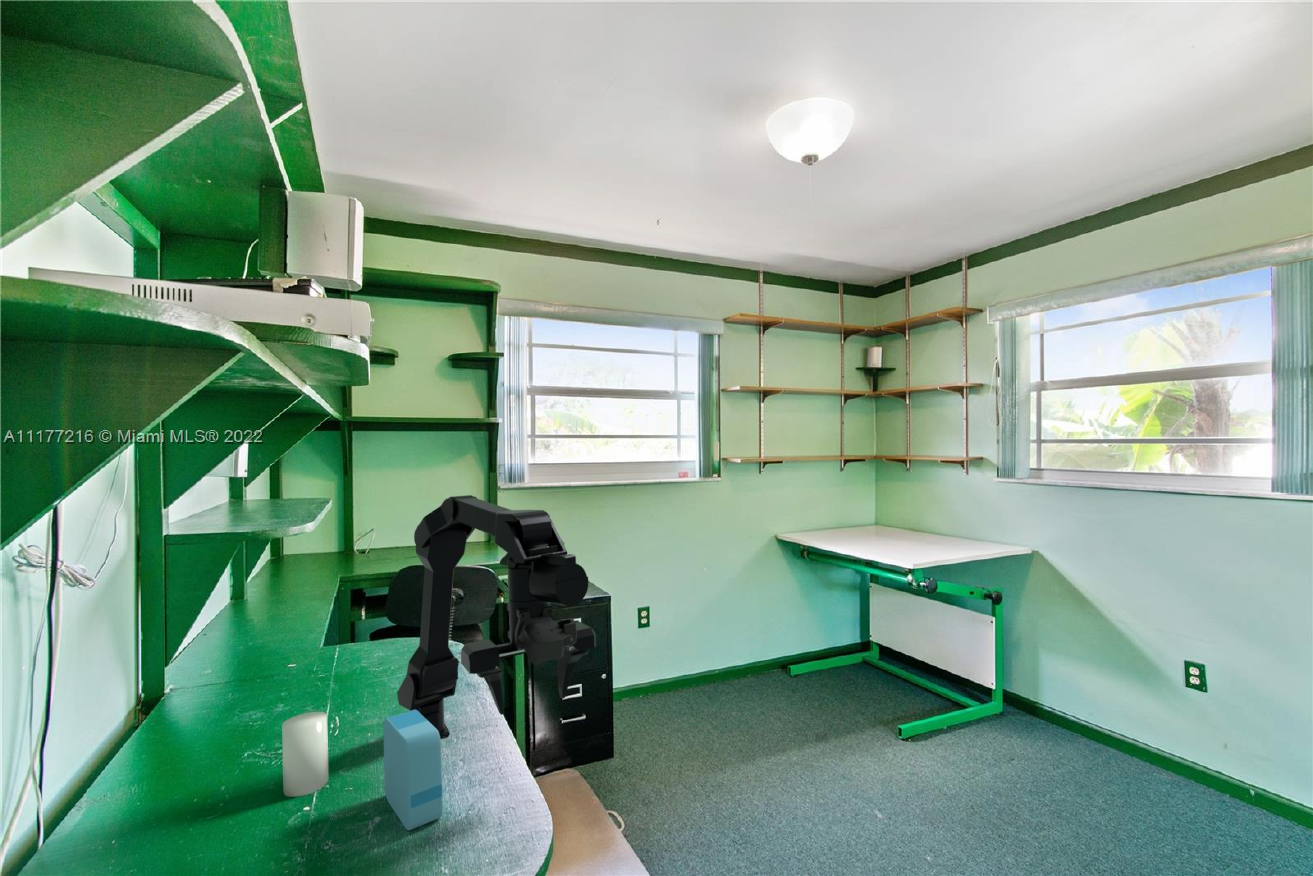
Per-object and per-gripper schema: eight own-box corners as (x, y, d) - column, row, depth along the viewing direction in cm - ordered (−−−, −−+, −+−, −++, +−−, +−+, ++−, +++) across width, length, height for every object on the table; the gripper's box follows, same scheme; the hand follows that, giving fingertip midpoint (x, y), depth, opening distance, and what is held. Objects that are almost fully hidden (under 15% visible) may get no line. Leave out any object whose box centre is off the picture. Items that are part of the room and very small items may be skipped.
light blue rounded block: (443, 821, 81) (441, 732, 81) (409, 836, 78) (407, 743, 78) (416, 786, 90) (414, 706, 90) (384, 798, 87) (382, 715, 88)
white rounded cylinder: (283, 783, 92) (282, 718, 93) (327, 771, 95) (326, 708, 96) (282, 801, 87) (281, 732, 88) (329, 788, 90) (327, 722, 91)
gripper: (478, 620, 75) (482, 745, 74) (610, 596, 84) (615, 707, 84) (458, 604, 84) (461, 715, 84) (578, 584, 94) (583, 684, 93)
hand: (532, 705), depth 86 cm, fingers open, 9 cm apart
